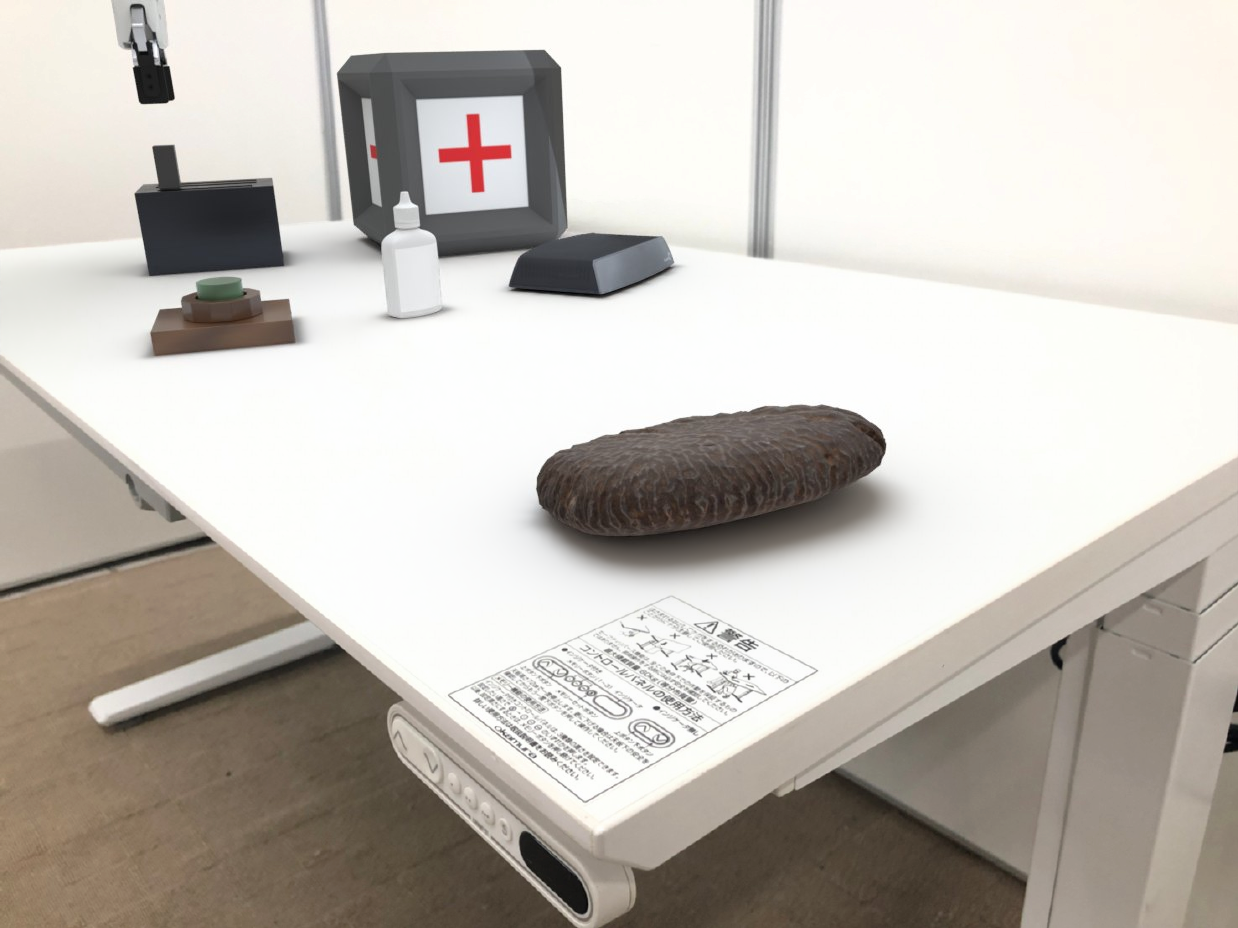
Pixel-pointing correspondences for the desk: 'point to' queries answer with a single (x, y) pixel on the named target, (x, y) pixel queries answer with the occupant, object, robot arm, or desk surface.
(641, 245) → the hard drive
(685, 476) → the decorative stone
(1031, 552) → the desk surface
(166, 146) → the toaster slider
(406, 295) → the eye dropper bottle
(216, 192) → the toaster
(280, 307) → the brown button base
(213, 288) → the button
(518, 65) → the first aid kit
